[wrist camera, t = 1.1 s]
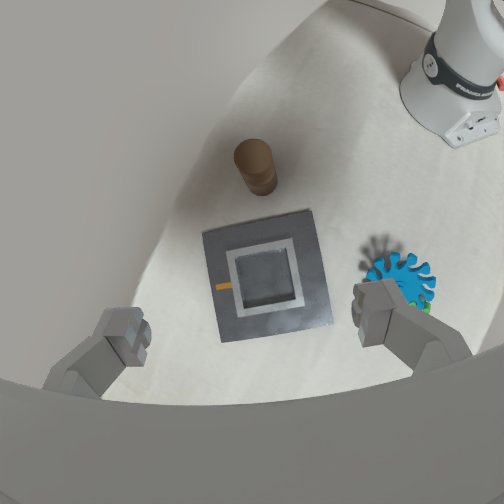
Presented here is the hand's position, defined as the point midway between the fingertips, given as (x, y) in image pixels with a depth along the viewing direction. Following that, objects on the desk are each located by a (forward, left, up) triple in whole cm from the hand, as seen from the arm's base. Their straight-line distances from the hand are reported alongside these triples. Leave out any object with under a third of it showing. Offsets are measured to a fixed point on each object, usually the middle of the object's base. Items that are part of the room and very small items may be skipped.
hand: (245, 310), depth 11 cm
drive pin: (0, -15, -31) cm, 35 cm away
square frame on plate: (+2, -1, -31) cm, 31 cm away
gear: (-16, +3, -31) cm, 35 cm away
